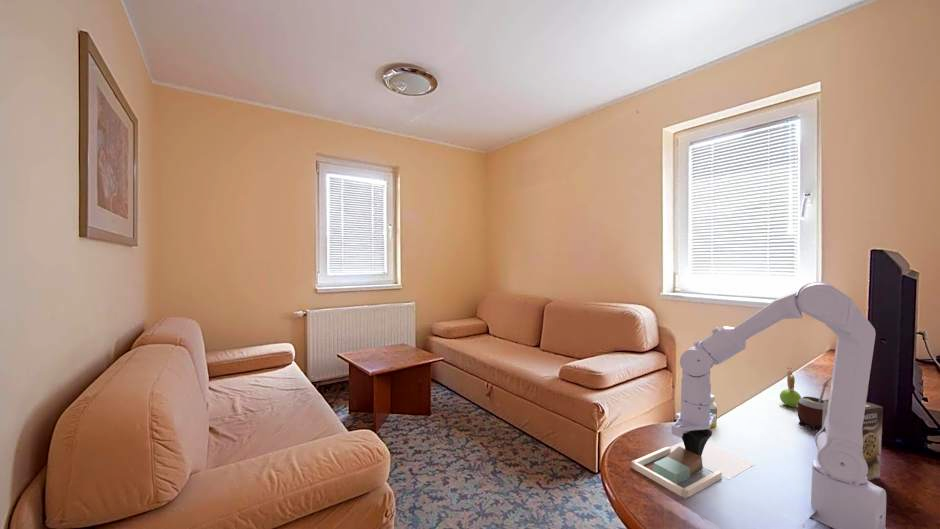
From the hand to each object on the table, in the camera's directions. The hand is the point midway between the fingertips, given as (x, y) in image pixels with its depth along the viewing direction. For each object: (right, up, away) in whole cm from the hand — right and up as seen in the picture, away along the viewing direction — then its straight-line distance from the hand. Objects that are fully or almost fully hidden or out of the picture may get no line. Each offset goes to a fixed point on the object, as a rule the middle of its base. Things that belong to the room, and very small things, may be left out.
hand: (693, 459), depth 84 cm
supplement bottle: (+16, -2, +21) cm, 27 cm away
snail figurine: (+55, -2, +38) cm, 67 cm away
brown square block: (-3, -1, -1) cm, 3 cm away
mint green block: (-7, -2, -4) cm, 9 cm away
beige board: (+6, -2, +3) cm, 7 cm away
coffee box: (+35, -3, 0) cm, 36 cm away
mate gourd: (+49, -3, +23) cm, 54 cm away
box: (-6, -2, -3) cm, 7 cm away
